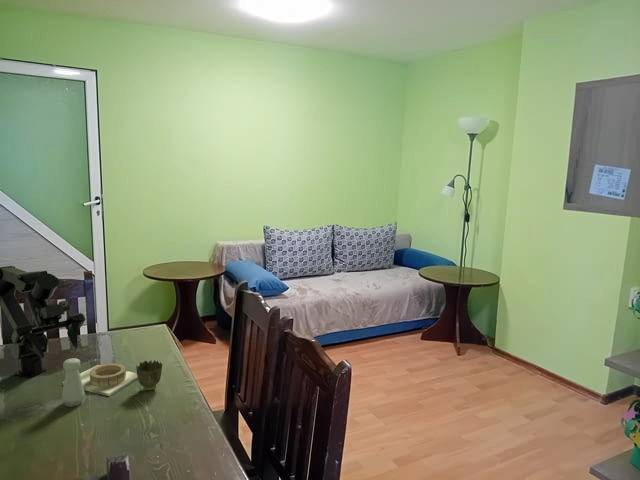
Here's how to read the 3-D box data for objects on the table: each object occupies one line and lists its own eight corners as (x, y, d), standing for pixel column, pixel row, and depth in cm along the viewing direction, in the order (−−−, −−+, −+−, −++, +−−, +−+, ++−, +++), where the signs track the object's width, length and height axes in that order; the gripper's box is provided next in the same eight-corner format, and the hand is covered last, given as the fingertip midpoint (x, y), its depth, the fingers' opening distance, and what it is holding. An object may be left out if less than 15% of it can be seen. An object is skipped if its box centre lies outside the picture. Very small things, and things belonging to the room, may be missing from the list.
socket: (62, 384, 142) (62, 373, 142) (98, 366, 155) (97, 356, 155) (109, 396, 136) (108, 384, 136) (142, 376, 149) (141, 365, 149)
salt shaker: (67, 398, 134) (65, 355, 132) (88, 398, 135) (86, 355, 133) (58, 408, 129) (56, 364, 127) (79, 408, 129) (77, 364, 127)
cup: (154, 397, 137) (153, 371, 136) (131, 393, 138) (130, 368, 137) (167, 385, 144) (166, 361, 143) (145, 382, 145) (145, 358, 144)
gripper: (12, 299, 127) (31, 348, 123) (81, 287, 142) (100, 330, 137) (3, 320, 133) (21, 367, 128) (70, 306, 148) (88, 348, 143)
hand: (60, 352), depth 134 cm, fingers open, 9 cm apart
